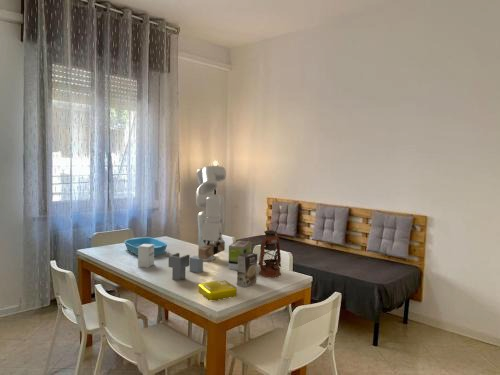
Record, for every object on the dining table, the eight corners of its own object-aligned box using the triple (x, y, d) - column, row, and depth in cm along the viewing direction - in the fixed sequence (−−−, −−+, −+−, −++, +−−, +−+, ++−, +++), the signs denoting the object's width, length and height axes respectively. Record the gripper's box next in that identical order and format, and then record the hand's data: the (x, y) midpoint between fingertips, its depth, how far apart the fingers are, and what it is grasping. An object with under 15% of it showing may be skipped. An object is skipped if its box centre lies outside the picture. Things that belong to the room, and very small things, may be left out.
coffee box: (245, 287, 191) (246, 257, 189) (236, 284, 195) (237, 255, 193) (256, 283, 198) (257, 254, 196) (247, 280, 202) (248, 251, 200)
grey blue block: (194, 268, 220) (194, 255, 220) (202, 270, 218) (203, 257, 217) (189, 271, 216) (189, 257, 215) (198, 272, 213) (198, 259, 212)
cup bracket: (177, 275, 207) (177, 252, 206) (189, 277, 204) (189, 254, 203) (168, 279, 200) (168, 256, 199) (180, 282, 197) (180, 258, 196)
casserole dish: (120, 248, 264) (120, 238, 264) (149, 244, 278) (149, 235, 278) (140, 260, 236) (140, 249, 235) (172, 255, 250) (172, 245, 249)
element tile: (197, 292, 184) (197, 282, 183) (223, 287, 192) (224, 278, 191) (210, 302, 171) (210, 292, 171) (238, 296, 179) (238, 287, 179)
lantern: (267, 280, 204) (268, 226, 201) (251, 274, 214) (253, 222, 211) (288, 274, 215) (290, 223, 212) (272, 269, 224) (274, 220, 222)
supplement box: (148, 267, 220) (149, 246, 219) (137, 266, 222) (137, 246, 221) (154, 264, 227) (154, 244, 226) (143, 263, 229) (143, 243, 228)
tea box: (236, 262, 236) (237, 239, 235) (251, 264, 233) (252, 241, 232) (228, 269, 222) (228, 245, 221) (243, 271, 219) (244, 246, 218)
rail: (218, 249, 209) (218, 240, 209) (224, 250, 208) (224, 241, 207) (198, 257, 192) (198, 248, 191) (204, 259, 190) (205, 249, 189)
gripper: (195, 218, 198) (195, 252, 200) (222, 222, 191) (221, 256, 192) (203, 216, 205) (202, 249, 207) (229, 220, 197) (228, 253, 199)
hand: (212, 252), depth 199 cm, fingers closed on rail, 4 cm apart
